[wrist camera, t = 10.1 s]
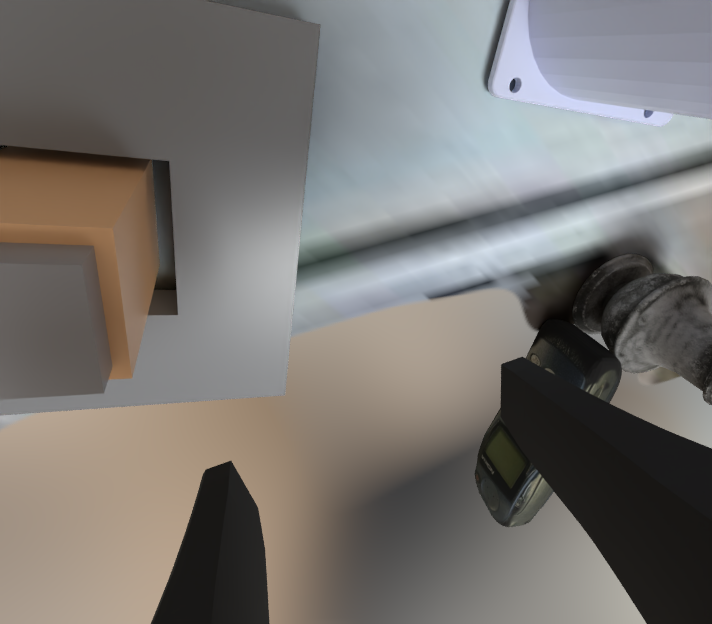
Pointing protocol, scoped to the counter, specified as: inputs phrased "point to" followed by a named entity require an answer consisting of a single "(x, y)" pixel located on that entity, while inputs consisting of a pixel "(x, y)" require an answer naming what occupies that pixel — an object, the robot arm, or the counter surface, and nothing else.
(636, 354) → the salt shaker
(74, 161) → the plug
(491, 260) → the counter surface
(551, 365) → the mobile phone
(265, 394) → the socket plate
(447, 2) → the counter surface
